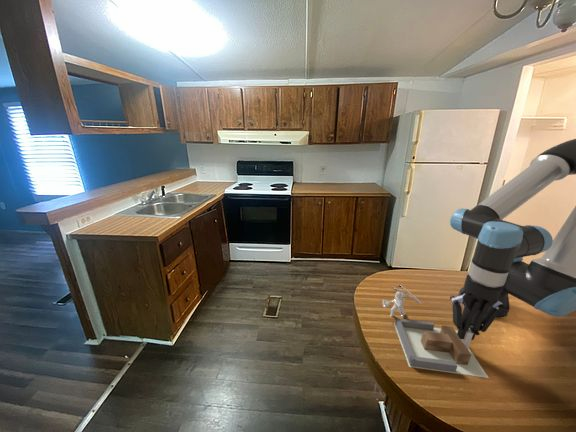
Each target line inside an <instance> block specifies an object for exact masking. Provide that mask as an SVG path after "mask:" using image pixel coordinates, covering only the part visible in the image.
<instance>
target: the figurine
mask: <svg viewBox="0 0 576 432" xmlns="http://www.w3.org/2000/svg"><path fill="white" fill-rule="evenodd" d="M404 293H405V292H404ZM404 293H401V292H399V291H396V292H395V296H394V299H392V300H389V301H388V300H386V299H382V300H381V303H382V307H383V308H387V307H388V306H390V303H393V304H394V305H393V306H391V309H390V315H389V317H394V315H395V311H396V310H397V311H398V313H399V314H400V315H401V317H405V316H406V315H407V313H406V312H405V311H403V310H404V309H405V308H404V302H406V298H404V297H405V295H404Z"/></svg>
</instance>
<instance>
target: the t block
mask: <svg viewBox="0 0 576 432" xmlns="http://www.w3.org/2000/svg"><path fill="white" fill-rule="evenodd" d="M455 330H456V329H455V328H454V326H452V325H441V331H440V333H431V332H423V334H422V338H421V343H422V345H423V348H424V350H431V351H439V352H447V353H450V354H451V356H452V358H453V360H454V361H455V362H456V364H462V365H468V362H469V360H470V357H471V354H470V352H469V351H468V349H467V348H466V346H465V345H464V343H463V342H462V340H461V339H460V338H459V336H458V335H457V333H456V331H455Z"/></svg>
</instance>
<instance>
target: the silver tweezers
mask: <svg viewBox="0 0 576 432" xmlns="http://www.w3.org/2000/svg"><path fill="white" fill-rule="evenodd" d="M399 285H400V286H401V287H402V288H403V289H404V290H405V291H404V290H403V289H402V288H401V287H400V288H401V289H402V290H403V291H402V290H401V289H399V288H397V287H395V286H392V287H394V288H392V289H393V290H395V291H396V290H398V291H399V292H401V293H404V294H405V295H404V296H406V297H408V298H409V299H411V300H413V301H415V302H416V303H417V304H423V301H421V300H420V299H418V297H416V296H415V295H414V294H413V293H412V292H410V291H409V290H408V289H407V288H406V287H404V286H403V285H401V284H399ZM398 291H397V292H398ZM406 291H407V292H408V293H409V294H408V293H407V292H406ZM410 294H411V295H412V296H411V295H410Z"/></svg>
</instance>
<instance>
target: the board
mask: <svg viewBox="0 0 576 432" xmlns="http://www.w3.org/2000/svg"><path fill="white" fill-rule="evenodd" d="M393 326H394V328H395V331H396V335H397V336H398V339H399V342H400V345H401V348H402V350H403V354H404V355H405V356H404V357H405V359H406V362H407V364H408V368H414V369H415V368H416V369H421V370H429V371H430V370H431V371H436V372H443V373H450V374H458V375H465V376H473V377H479V378H487V379H489V376H488V374H487V373H486V372H485V370H484V369H483V367H482V366H481V364H480V362H479V361H478V359H477V358H476V356H475V355H474V353H473V352H472V351H471V349H470V348H469V347H470V346H469V347H468V351H469V352H470V354H471V357H470V360H469V362H468V365H462V364H456V362H455V361H454V360H453V358H452V356H451V354H450V353H447V352H439V351H431V350H424V348H423V345H422V343H421V338H422V334H423V332H431V333H440V331H441V328H442V327H441V328H440V327H435V323H434V322H433V321H427V320H426V321H424V320H416V319H415V320H414V319H406V318H395V322H393ZM454 330H455V331H456V333H458V330H457V329H454Z"/></svg>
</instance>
